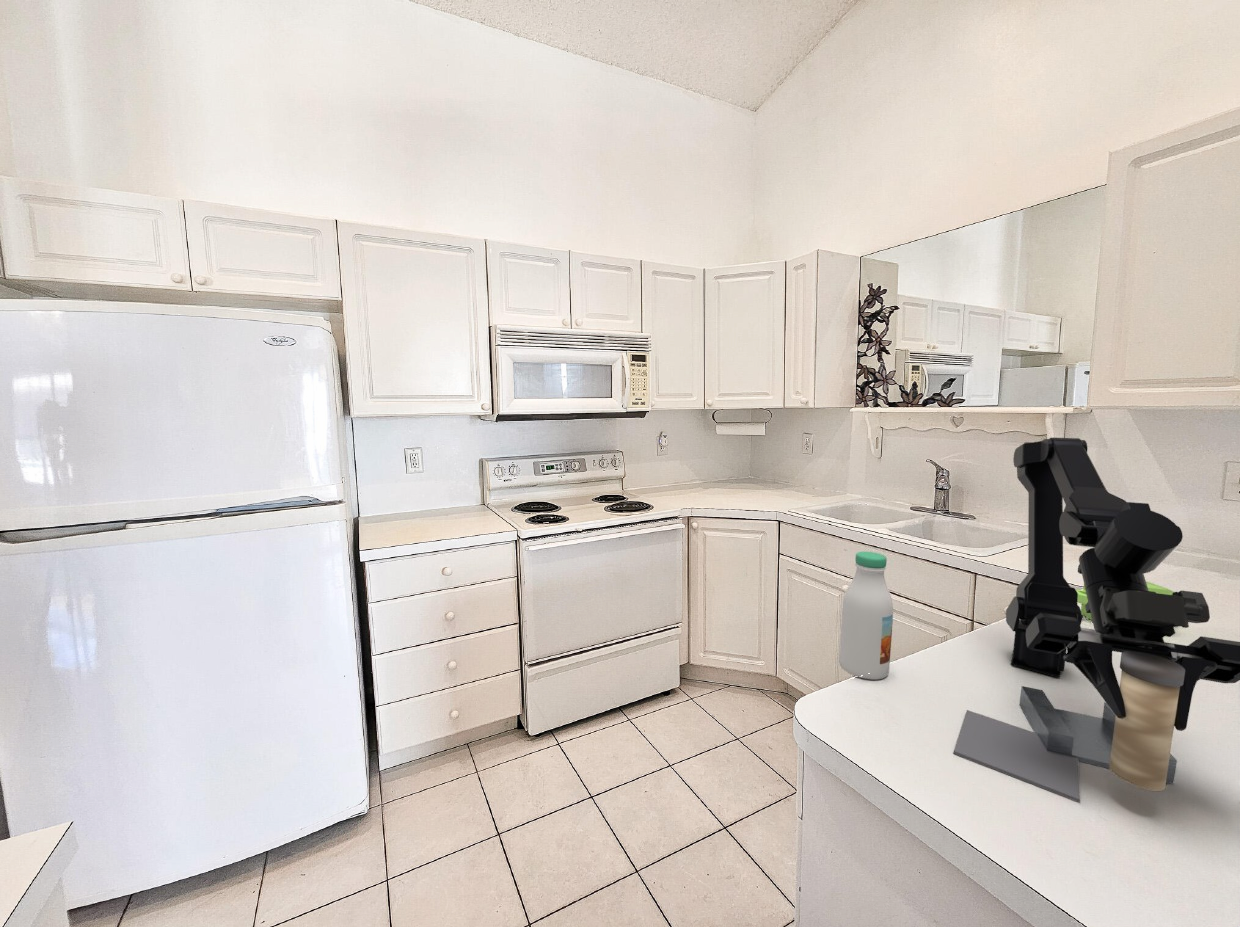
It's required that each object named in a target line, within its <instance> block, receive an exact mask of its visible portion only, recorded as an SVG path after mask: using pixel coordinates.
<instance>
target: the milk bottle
mask: <svg viewBox="0 0 1240 927" xmlns="http://www.w3.org/2000/svg"><path fill="white" fill-rule="evenodd" d="M887 561H888V560H887V557H886V556H885V555H884V554H881V553H878V552H873V551H858V552H857V553H856V554H855V564H854V566H855V567H856V568H855V573H854V576H853V578H852V580H851V581H850V583H849V584H848V587H847V589H846V590H845V593H844V596H843V599H842V600H843V601H842V608H841V609H842V610H841V624H840V636H839V651H838V663H839V666H840V667H841V670H844V672H847V673H848V674H850V675H852V676H854V677H857V678H861V679H865V680H872V681H873V680H882V679H885V678H886V677H887V676H888V675H889V671H890V664H891V663H890V662H891V649H892V640H893V638H892V635H893V621H894V606H893V605H894V603H893V598H892V596H891V595H892V594H891V593H890V590H889V588H888V585H887V582H886V579H885V571H886V570H887V568H886V567H887ZM868 673H870V674H868ZM861 675H863V676H862V677H859V676H861Z"/></svg>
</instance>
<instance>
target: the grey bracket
mask: <svg viewBox="0 0 1240 927" xmlns="http://www.w3.org/2000/svg"><path fill="white" fill-rule="evenodd" d="M1019 694H1020V696H1019V707H1020V708H1021V711H1022V712H1023V714H1024V716H1025V717H1026V719H1027V722H1028V723H1029V725H1030V726H1031V729H1032V730H1033V732H1035V733H1037V734H1038V736H1039V738H1040V740H1041V741H1042V743H1043V745H1044V747H1045V748H1046V750H1047V751H1051V752H1055V753H1059V754H1063V755H1068V756H1072V757H1076V758H1078V762H1081V763H1085V764H1089V765H1093V766H1098V767H1101V768H1106V769H1109V770H1110V768H1109V763H1110V756H1111V748H1112V741H1113V733H1114V725H1115V718H1116V715H1115V713H1114V712H1113V711H1112V709H1111V708H1110V707H1109V705H1108V704H1107V703H1106V702H1104V704H1103V709H1102V710H1103V712H1102V717H1098V716H1094V715H1089V714H1088V715H1087V714H1083V713H1078V712H1073V711H1069V710H1065V709H1060V708H1055V707H1054V705H1053V704H1052V702H1051V701H1050V700H1049V698H1048V697H1047V695H1046V693H1045V692H1044V690H1043V689H1038V688H1033V687H1028V686H1024V685H1021V686H1020V693H1019ZM1177 763H1178V760H1177V759H1176V758H1175V756H1174V755H1173V754H1172V753H1171V752H1170V758H1169V765H1168V771H1167V778H1166V783H1168V784H1172V785H1174V784H1175V777H1176V771H1177V770H1176V769H1177Z"/></svg>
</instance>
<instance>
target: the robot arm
mask: <svg viewBox="0 0 1240 927" xmlns="http://www.w3.org/2000/svg"><path fill="white" fill-rule="evenodd" d="M1012 459H1013V466H1014V467H1015V468H1016V476H1017V480H1018V481H1019V482H1020V484H1021V485H1022V486H1023V487H1024V489H1025V490H1026V491H1027V493H1028V509H1027V510H1028V513H1027V514H1028V517H1027V518H1028V520H1027V521H1028V525H1027V526H1028V531H1027V532H1028V535H1027V536H1028V538H1027V539H1028V541H1027V542H1028V543H1027V546H1028V547H1027V548H1028V549H1027V552H1028V554H1027V555H1028V556H1027V557H1028V558H1027V564H1028V567H1027V569H1028V570H1027V575H1026V576H1025V577H1024V579H1023V580H1021V582H1020V583H1019V584H1018V586H1017V587H1016V589H1015V590H1016V596H1013V598H1012V600H1011V602H1010V603H1009V605H1008V606H1007V608H1005V623H1006V624H1007V625H1008V626H1009V628H1010V629H1011V631H1012V632H1014V639H1013V640H1014V641H1013V650H1012V654H1011V659H1010V665H1011V666H1014V667H1017V668H1021V669H1024V670H1029V671H1032V672H1036V673H1040V674H1043V675H1048V676H1050V677H1053V678H1060V677H1061V672H1064V671H1065V667H1066V665H1065V664H1066V663H1069V664H1073V665H1074V666H1075V667H1076V668H1077V669H1078V671H1080V673H1081V674H1082V675H1083V676H1084V677H1085V678H1086V679H1087V680H1088V681H1089V682H1090V683H1091V685H1092V686H1093V688H1094V689H1095V690H1096V691H1097V692H1098V693H1099V696H1101V698H1102V699H1103V700H1104V701H1105V703H1107V704H1108V705H1109V707H1110V708H1111V709H1112V711H1113V712H1114V713H1115V715H1116V716H1117V717H1118V718H1121V719H1123V718H1125V717H1126V711H1125V705H1124V700H1123V697H1122V694H1121V691H1120V683H1119V682H1118V678H1117V674H1116V672H1115V668H1114V666H1113V652H1115V653H1122V652H1125V651H1136V652H1143V653H1148V654H1152V655H1156V656H1159V657H1163V658H1166V659H1168V660H1171V661H1173V662H1175V663H1177V664H1179V665H1181V666H1182V667H1183V668H1184V669H1185V676H1184V682H1183V685H1182V686H1180V690H1179V697H1178V703H1177V710H1176V717H1175V724H1174V729H1175V730H1176V731H1179V732H1182V731H1184V730H1186V729H1187V726H1188V720H1189V714H1190V710H1191V704H1192V699H1193V693H1194V690H1195V687H1196V686H1197V683H1198V681H1200V680H1202V681H1208V682H1214V683H1221V684H1236V683H1237V682H1239V681H1240V641H1235V640H1230V639H1222V638H1216V637H1210V636H1199V637H1198V638H1197V639H1195V640H1194V641H1192V642H1191V643H1190V644H1188V645H1185V644H1179V643H1171V642H1167V641H1165V640H1164V637H1166V638H1167V637H1168V638H1171V637H1173V636H1174V635H1175V634H1176V629H1175V628H1178V627H1182V629H1183V628H1184V629H1187V628H1189V627H1190V625H1189V623H1193V624H1203V623H1208V622H1209V621H1210V618H1211V616H1210V614H1211V613H1210V609H1209V605H1208V602H1207V601H1206V598H1205V596H1204V594H1203V592H1197V591H1191V590H1190V591H1188V590H1180V591H1173V594H1172V595H1167V594H1159V593H1156V592H1152V591H1149V590H1148V587H1147V584H1146V581H1147V580H1146V577H1145V574H1148V573H1150V572H1153V571H1155V569H1157V567H1158V566H1160V565H1161V563H1162V562H1163V561H1164V560H1165V559H1166V558H1167V557H1168V556H1169V555H1170V554H1171V553H1172V552H1173V551H1174V550H1175V549H1176V548H1177V547H1178V546H1179V544H1181V543H1182V540H1183V537H1184V535H1183V531H1182V528H1181V527H1180V526H1178V525H1177V524H1176V523H1175V522H1174V521H1173V520H1171V519H1170V518H1169V517H1167V516H1166V515H1163V514H1161V513H1159V512H1156V511H1153V510H1152V509H1151V506H1150V504H1149V503H1145V502H1131V501H1126V500H1125V499H1123V498H1122V497H1119V496H1117V495H1114V494H1112V493H1110V492H1109V491H1108V490H1107V488H1106V486H1105V484H1104V482H1103V480H1102V479H1101V477H1100V475H1099V473H1098V471H1097V469H1096V467H1095V465H1094V463H1093V461H1092V459H1091V458H1090V456H1089V454H1088V443H1087V441H1086V440H1085V439H1081V438H1079V437H1049V438H1045V439H1042V440H1039V441H1034V442H1031V441H1030V442H1029V441H1026V442H1024V443H1023V444H1021V445H1019V446H1018V447H1016V448H1015V449H1014V452H1013V458H1012ZM1063 502H1064V503H1063ZM1063 504H1065V506H1064V505H1063ZM1063 506H1064V507H1063ZM1063 508H1064V509H1063ZM1064 539H1065V540H1066V542H1067V543H1068V544H1069V545H1070V546H1071V545H1072V546H1077V547H1088V548H1089V547H1090V548H1089V549H1087V550H1084V551H1083V552H1082V554H1080V556H1079V558H1078V562H1079V564H1078V567H1077V573H1078V574H1079V575H1082V580H1083V586H1084V585H1085V590H1086V594H1087V598H1088V603H1087V604H1086V605H1085V608H1086V613H1091V616H1092V620H1091V621H1092V625H1093V628H1086V627H1082V626H1081V625H1082V622H1083V619H1084V615H1083V614H1082V613H1081V607H1080V606H1079V605H1078V602H1077V600H1078V593H1077V591H1076V590H1077V589H1076V588H1075V587H1072V586H1071V585H1070V584H1069V583H1068V581H1067V580H1066V578H1065V576H1064Z"/></svg>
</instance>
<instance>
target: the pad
mask: <svg viewBox="0 0 1240 927" xmlns="http://www.w3.org/2000/svg"><path fill="white" fill-rule="evenodd" d="M953 755H956V756H958V757H960V758H963V759H966V760H968V761H971V762H973V763H977V764H978V765H982V766H984V767H986V768H989V769H992V770H994V771H998V772H1000V773H1002V774H1005V775H1008V776H1010V777H1012V778H1015V779H1018V780H1020V781H1022V782H1025V783H1028V784H1030V785H1033V786H1036V787H1039V788H1041V789H1042V790H1043V789H1044V790H1046V791H1049V792H1051V793H1054V794H1057V795H1059V796H1062V797H1064V798H1067V799H1070V800H1072V801H1074V802H1077V803H1081V794H1080V793H1081V791H1080V775H1079V774H1080V772H1079V761H1078V758H1076V757H1072V756H1068V755H1063V754H1059V753H1055V752H1051V751H1047V750H1046V748H1045V747H1044V745H1043V743H1042V741H1041V740H1040V738H1039V736H1038V734H1037V733H1035V732H1034V731H1031V730H1029V729H1025V728H1022V727H1019V726H1017V725H1013V724H1010V723H1007V722H1004V721H1002V720H998V719H995V718H993V717H990V716H987V715H983V714H981V713H977V712H976V711H975V712H974V711H971V710H969V709H967V710H966V712H965V715H964V718H963V721H962V725H961V727H960V730H959V734H958V737H957V740H956V743H955V746H954V748H953Z"/></svg>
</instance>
